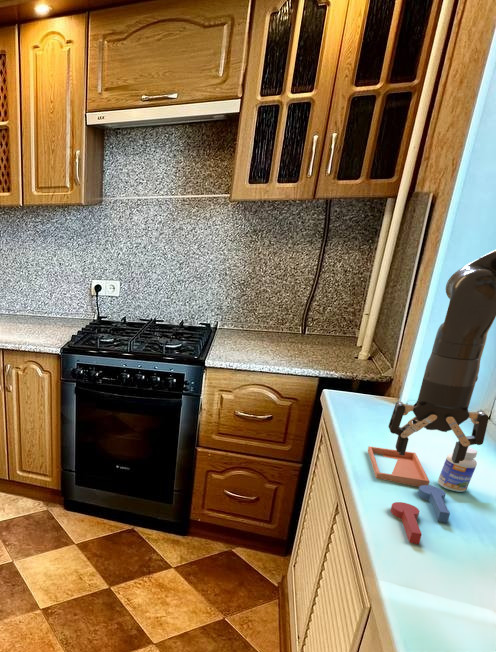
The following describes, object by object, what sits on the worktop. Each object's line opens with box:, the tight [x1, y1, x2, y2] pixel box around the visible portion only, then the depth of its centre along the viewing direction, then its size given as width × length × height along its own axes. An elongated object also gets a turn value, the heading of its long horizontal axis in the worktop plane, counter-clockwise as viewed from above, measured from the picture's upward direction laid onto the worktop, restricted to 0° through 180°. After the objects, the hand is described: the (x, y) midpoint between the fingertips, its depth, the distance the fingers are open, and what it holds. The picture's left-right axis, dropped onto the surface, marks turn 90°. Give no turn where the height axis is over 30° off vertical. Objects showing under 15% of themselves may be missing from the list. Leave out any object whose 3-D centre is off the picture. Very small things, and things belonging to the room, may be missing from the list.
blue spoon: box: [417, 484, 451, 524], centre depth 114 cm, size 13×5×2 cm, turn 154°
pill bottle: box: [437, 446, 478, 493], centre depth 121 cm, size 5×5×10 cm
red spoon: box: [389, 501, 423, 545], centre depth 108 cm, size 13×5×2 cm, turn 154°
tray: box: [367, 445, 430, 488], centre depth 130 cm, size 16×10×2 cm, turn 154°
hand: (427, 457), depth 102 cm, fingers open, 8 cm apart
